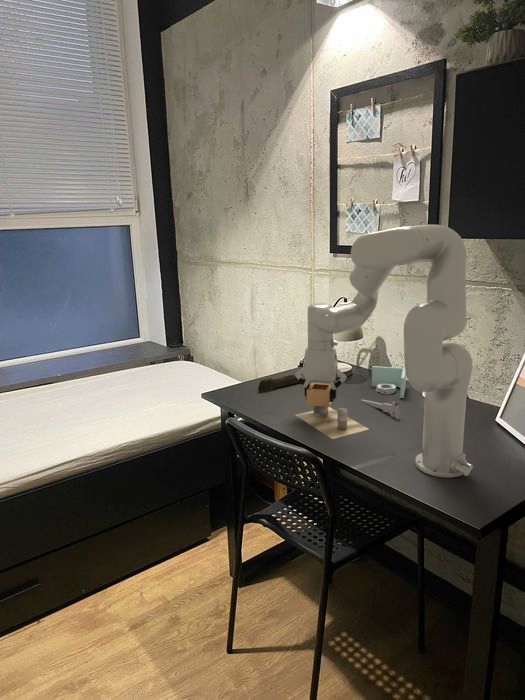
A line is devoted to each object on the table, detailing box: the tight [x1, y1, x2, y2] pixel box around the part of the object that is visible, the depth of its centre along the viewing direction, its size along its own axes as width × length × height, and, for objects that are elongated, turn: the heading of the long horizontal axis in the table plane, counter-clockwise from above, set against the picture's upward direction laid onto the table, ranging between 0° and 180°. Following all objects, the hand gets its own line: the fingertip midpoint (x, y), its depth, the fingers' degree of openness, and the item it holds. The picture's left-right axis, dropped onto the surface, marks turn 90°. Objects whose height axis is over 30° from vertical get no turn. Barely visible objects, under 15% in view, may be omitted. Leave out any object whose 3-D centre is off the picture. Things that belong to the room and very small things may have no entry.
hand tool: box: [257, 373, 303, 393], centre depth 192 cm, size 19×4×5 cm, turn 121°
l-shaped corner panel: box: [371, 365, 407, 399], centre depth 182 cm, size 12×12×8 cm
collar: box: [306, 382, 333, 408], centre depth 160 cm, size 7×7×5 cm
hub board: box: [295, 406, 370, 440], centre depth 156 cm, size 21×13×7 cm, turn 27°
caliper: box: [360, 399, 401, 420], centre depth 165 cm, size 20×1×6 cm, turn 25°
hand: (320, 399), depth 160 cm, fingers closed on collar, 7 cm apart
